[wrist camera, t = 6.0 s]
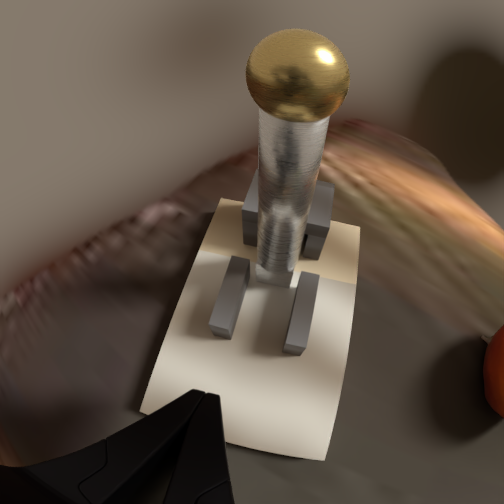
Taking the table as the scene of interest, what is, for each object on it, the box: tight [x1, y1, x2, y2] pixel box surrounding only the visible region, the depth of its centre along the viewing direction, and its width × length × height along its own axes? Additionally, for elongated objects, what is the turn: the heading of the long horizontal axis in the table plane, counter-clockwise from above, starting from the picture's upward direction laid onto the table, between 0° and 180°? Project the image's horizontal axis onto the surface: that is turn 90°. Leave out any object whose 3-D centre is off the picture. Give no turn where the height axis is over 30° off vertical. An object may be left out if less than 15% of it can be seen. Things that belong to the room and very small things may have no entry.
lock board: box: [140, 169, 360, 461], centre depth 15 cm, size 15×10×5 cm, turn 165°
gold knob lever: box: [246, 29, 350, 289], centre depth 12 cm, size 6×3×13 cm, turn 165°
